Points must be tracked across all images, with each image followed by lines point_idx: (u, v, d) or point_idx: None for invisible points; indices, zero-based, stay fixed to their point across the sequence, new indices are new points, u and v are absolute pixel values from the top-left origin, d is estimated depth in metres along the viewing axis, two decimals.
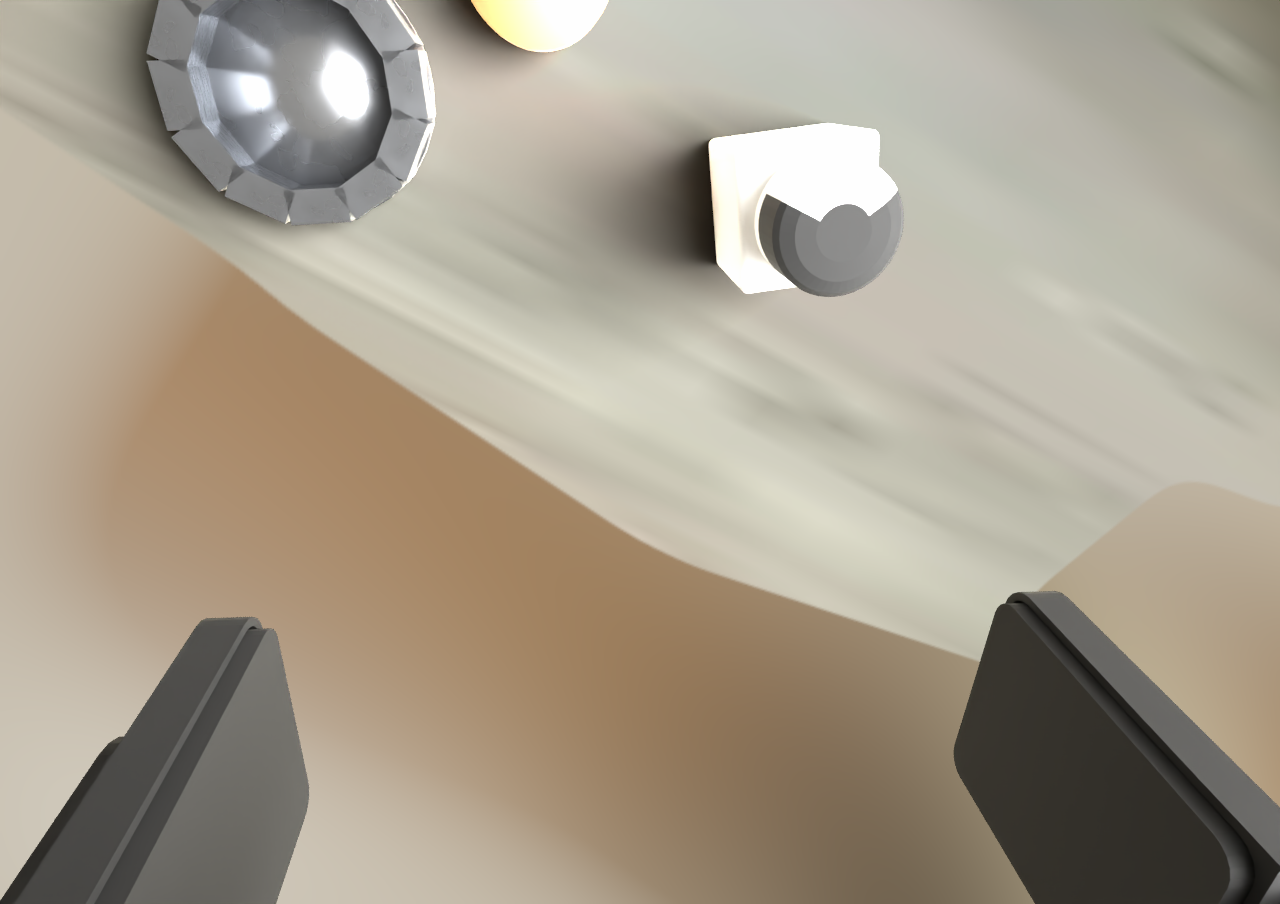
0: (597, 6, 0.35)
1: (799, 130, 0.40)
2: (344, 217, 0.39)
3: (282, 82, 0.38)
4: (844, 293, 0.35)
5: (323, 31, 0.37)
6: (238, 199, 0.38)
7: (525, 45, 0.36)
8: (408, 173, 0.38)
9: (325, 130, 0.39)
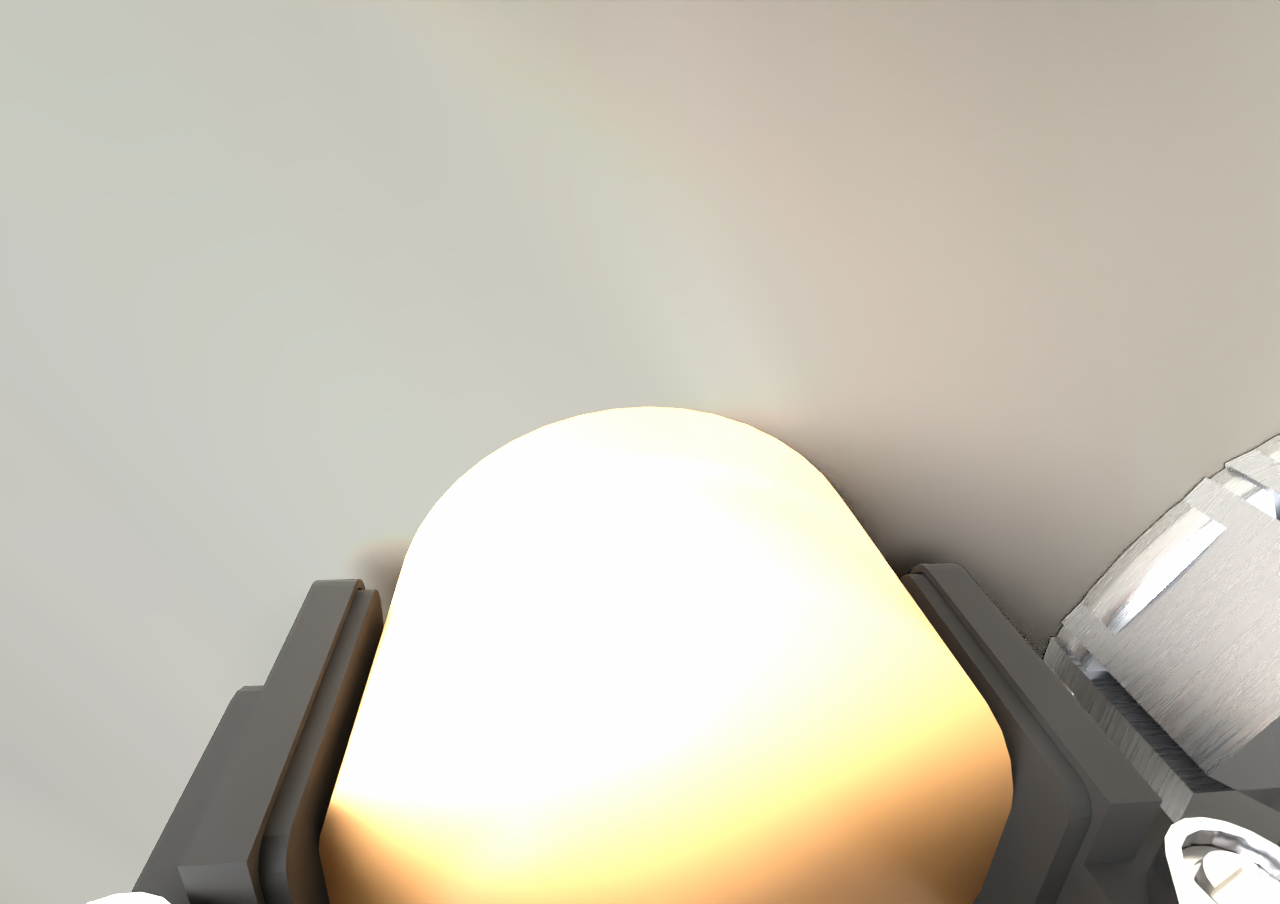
0: (543, 655, 0.06)
1: None
2: None
3: None
4: None
5: None
6: None
7: (961, 681, 0.07)
8: None
9: None
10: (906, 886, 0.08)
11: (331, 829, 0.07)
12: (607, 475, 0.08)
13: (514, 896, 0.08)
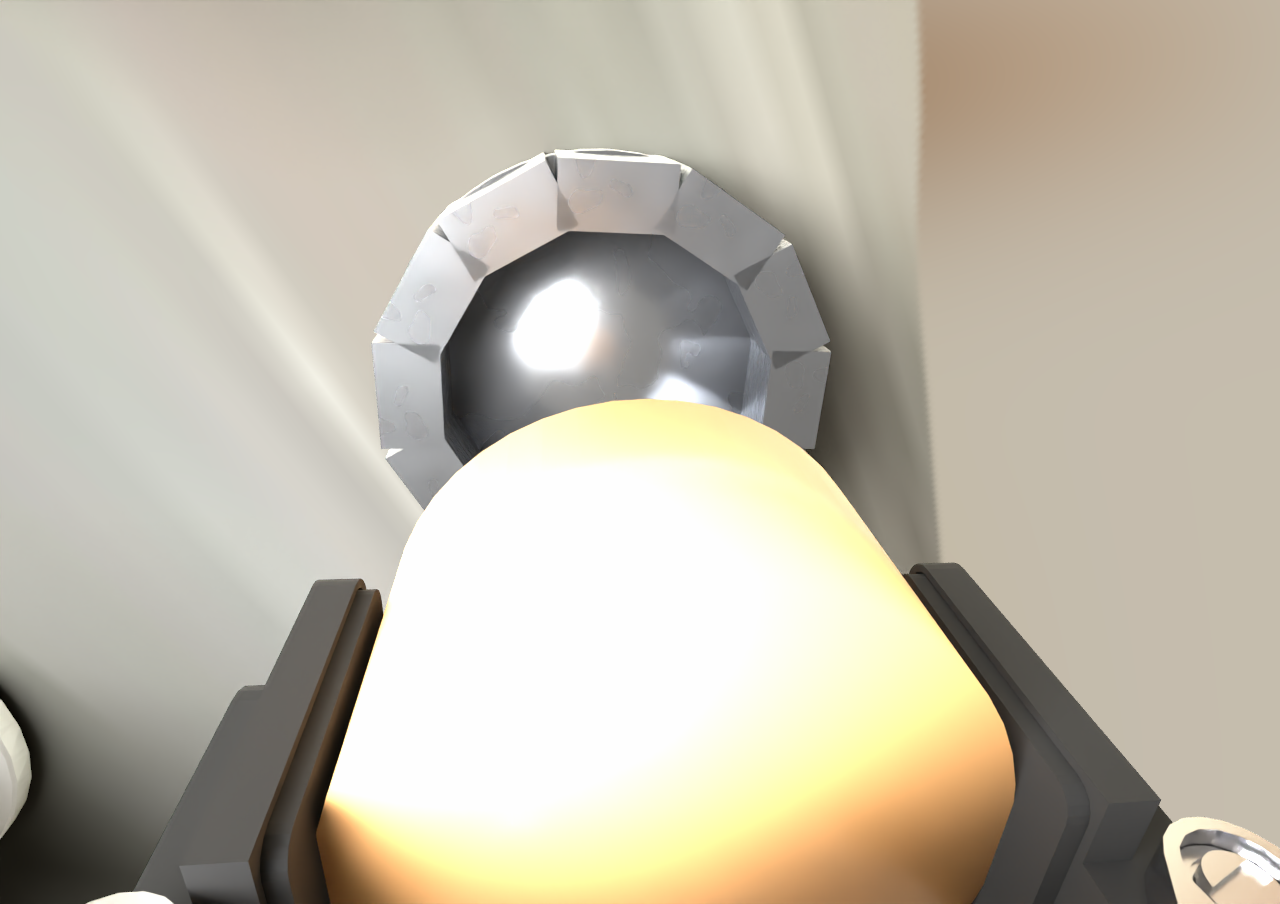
0: (540, 647, 0.06)
1: None
2: (696, 183, 0.19)
3: None
4: None
5: (518, 418, 0.23)
6: (817, 324, 0.21)
7: (963, 674, 0.07)
8: (530, 170, 0.18)
9: (621, 310, 0.22)
10: (908, 880, 0.08)
11: (328, 824, 0.07)
12: (605, 468, 0.08)
13: (512, 891, 0.07)
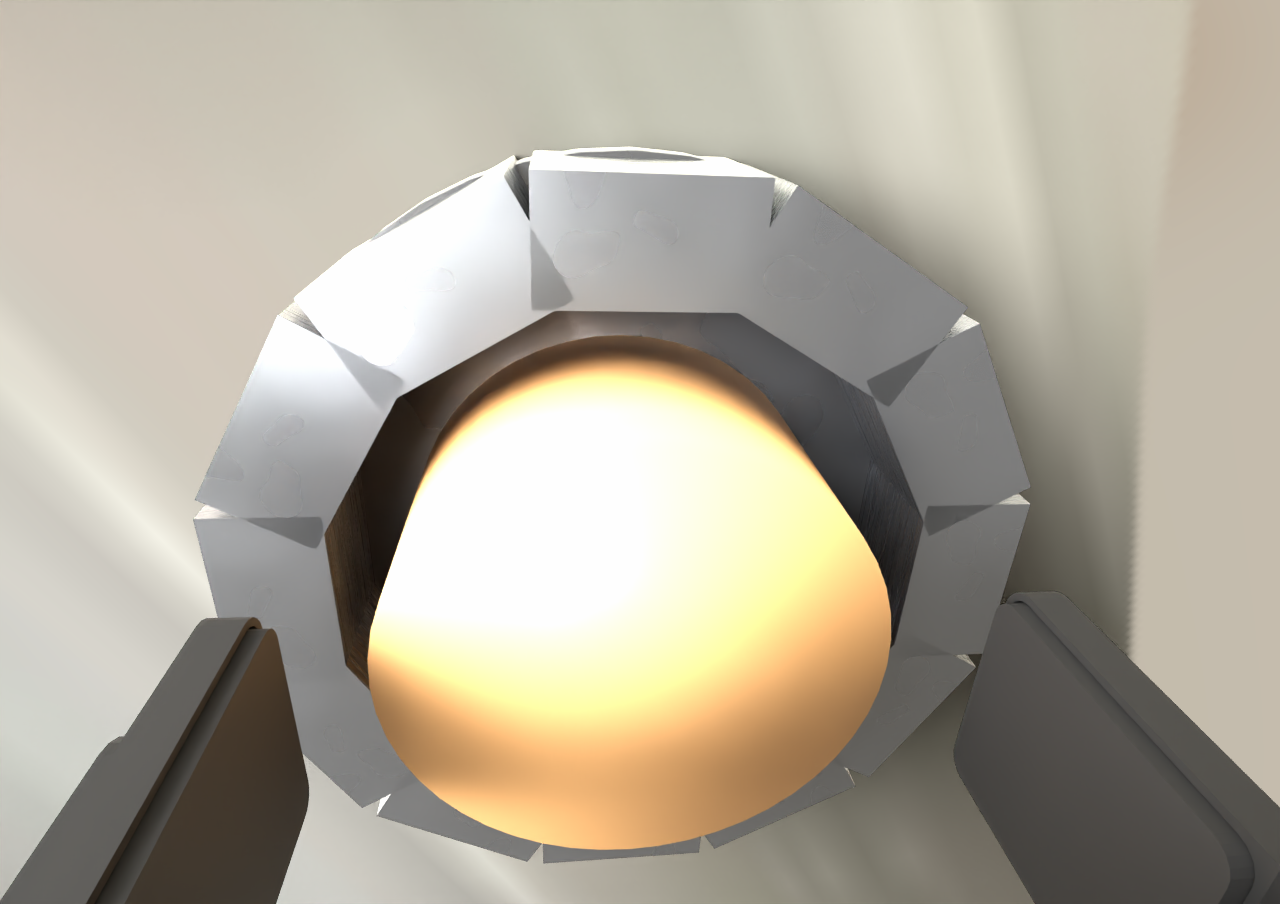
0: (533, 487, 0.09)
1: None
2: (805, 214, 0.09)
3: None
4: None
5: None
6: (1011, 460, 0.11)
7: (842, 518, 0.09)
8: (474, 196, 0.09)
9: None
10: (814, 694, 0.11)
11: (379, 624, 0.09)
12: (585, 378, 0.10)
13: (512, 689, 0.10)
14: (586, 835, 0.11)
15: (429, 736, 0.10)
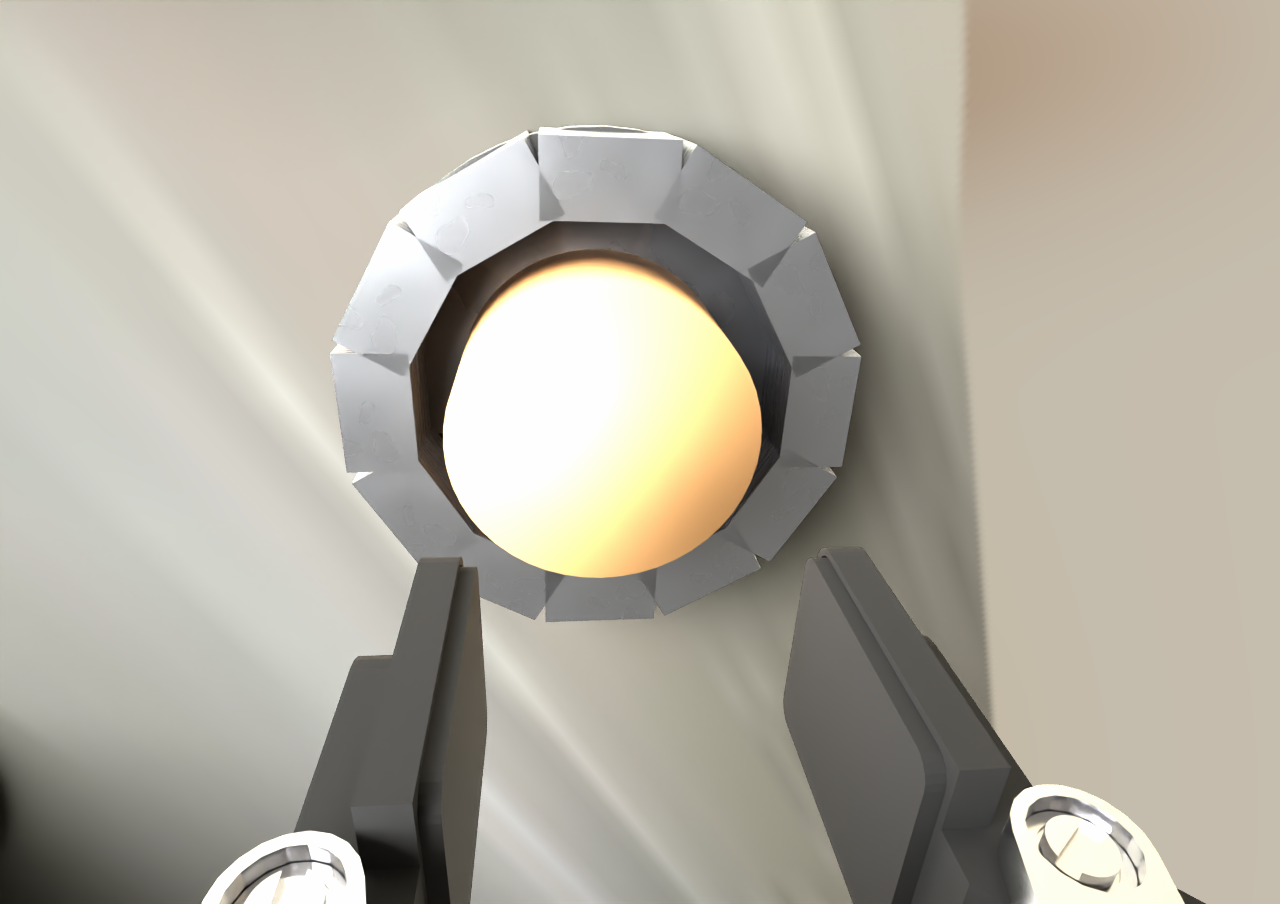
0: (544, 316, 0.15)
1: None
2: (702, 162, 0.16)
3: None
4: None
5: None
6: (845, 325, 0.18)
7: (726, 342, 0.16)
8: (506, 150, 0.15)
9: None
10: (717, 465, 0.17)
11: (451, 404, 0.16)
12: (574, 267, 0.17)
13: (530, 452, 0.16)
14: (574, 565, 0.18)
15: (478, 485, 0.17)
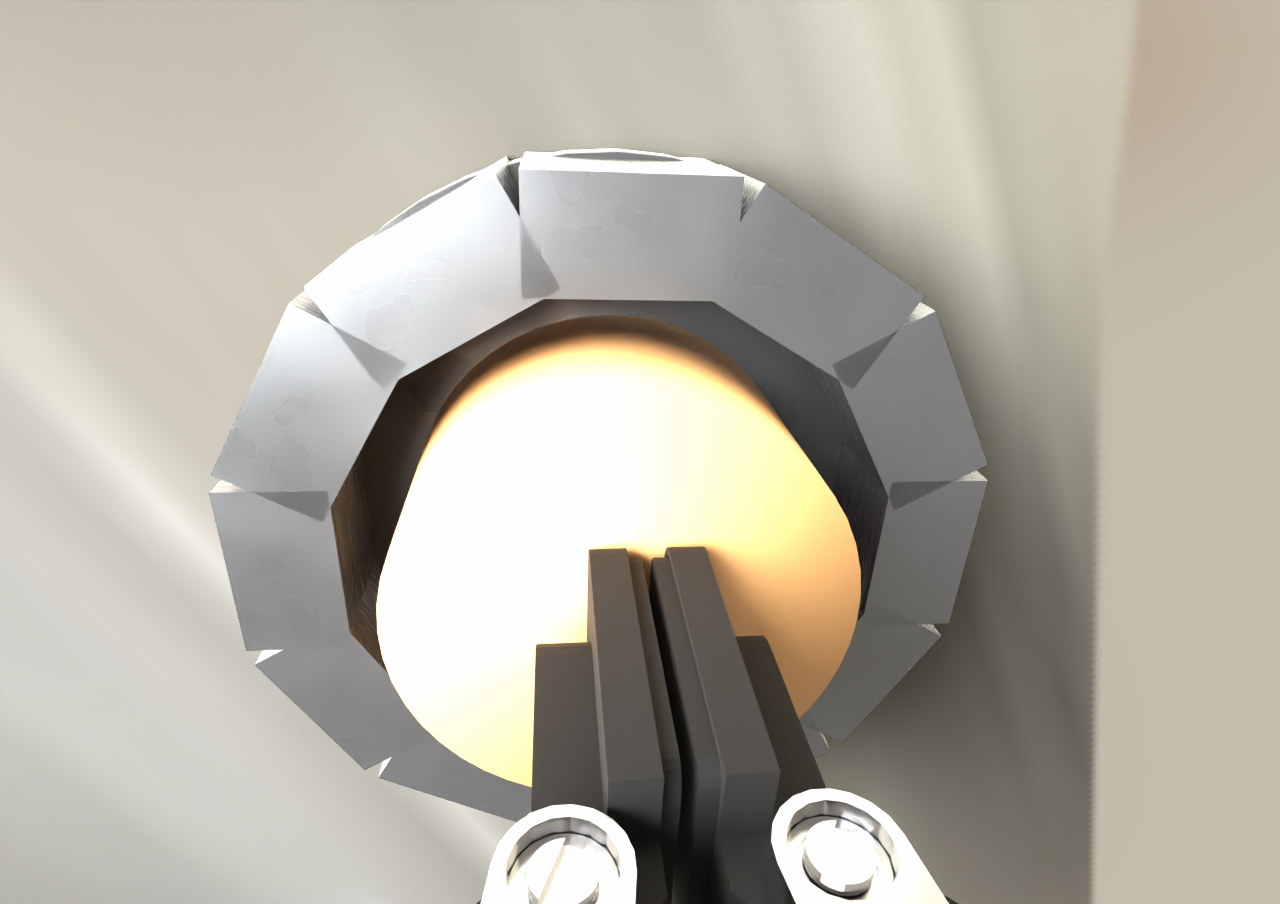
0: (534, 444, 0.10)
1: None
2: (772, 210, 0.10)
3: None
4: None
5: None
6: (968, 438, 0.12)
7: (816, 479, 0.10)
8: (469, 193, 0.10)
9: None
10: (790, 647, 0.11)
11: (388, 572, 0.10)
12: (581, 350, 0.11)
13: (511, 636, 0.11)
14: None
15: (432, 680, 0.11)
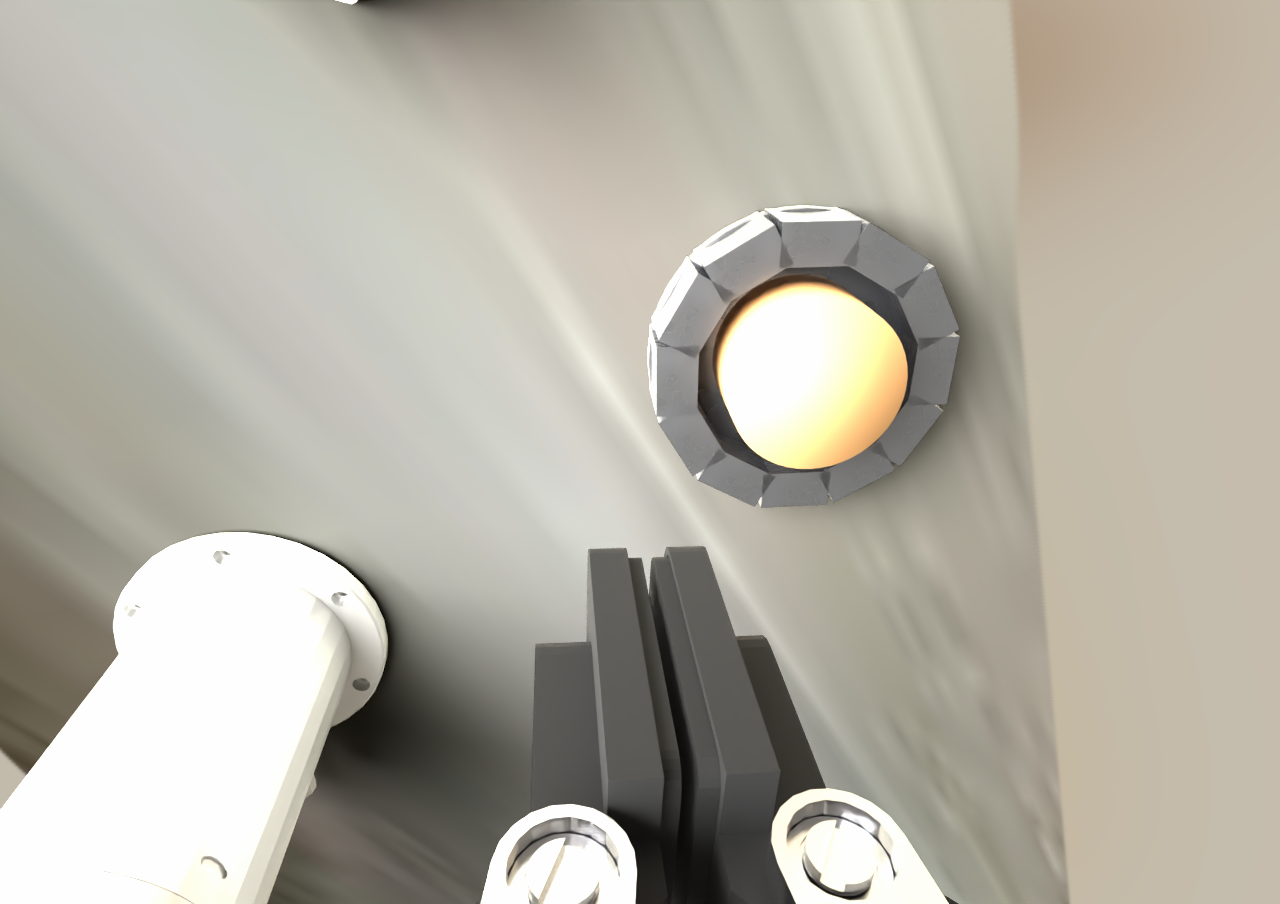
0: (792, 317, 0.28)
1: None
2: (871, 231, 0.28)
3: None
4: None
5: None
6: (950, 318, 0.30)
7: (890, 328, 0.28)
8: (764, 231, 0.28)
9: None
10: (880, 399, 0.30)
11: (737, 367, 0.28)
12: (796, 287, 0.29)
13: (776, 394, 0.29)
14: (794, 461, 0.30)
15: (746, 413, 0.29)
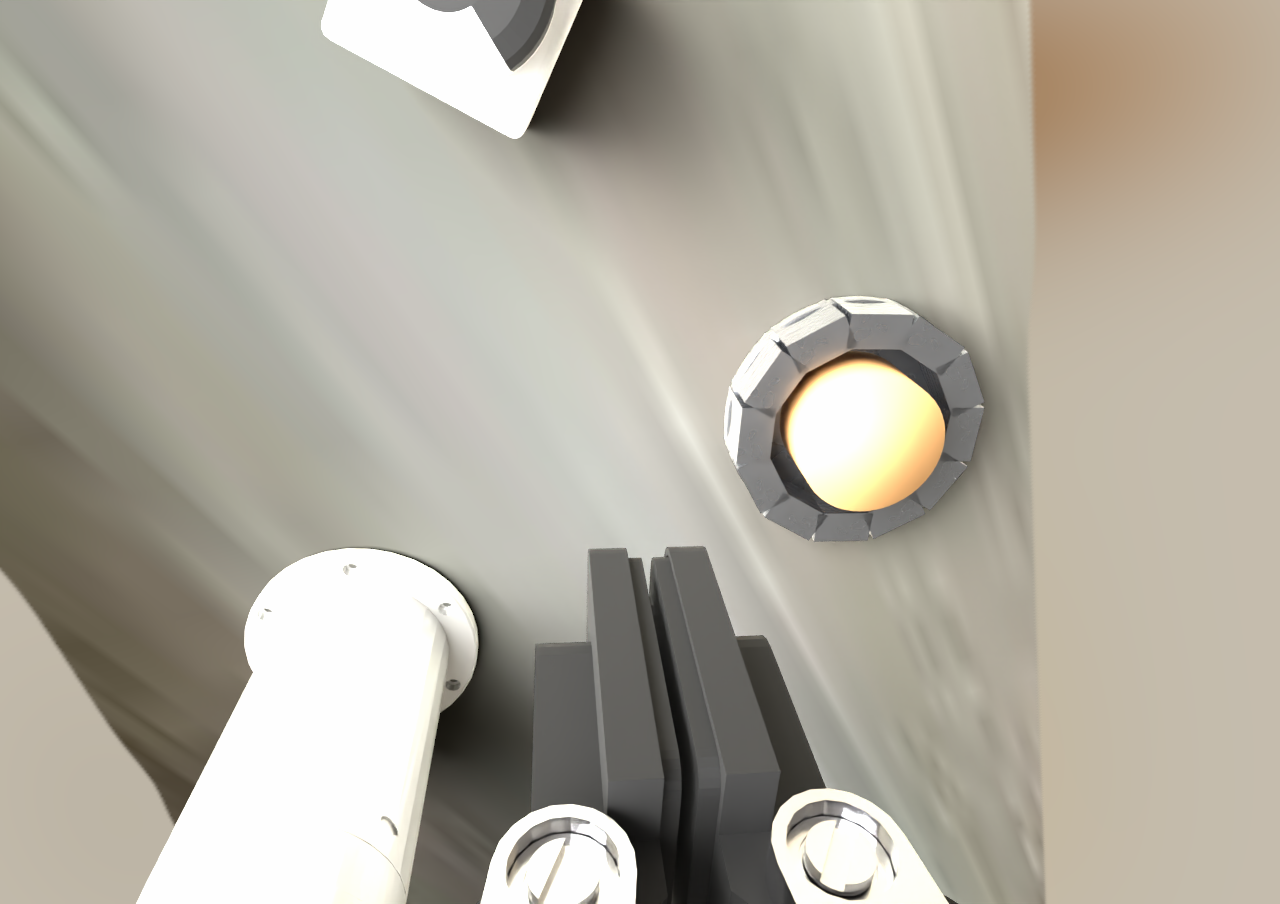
0: (858, 390, 0.34)
1: None
2: (920, 323, 0.35)
3: None
4: None
5: None
6: (978, 393, 0.37)
7: (934, 401, 0.35)
8: (837, 320, 0.35)
9: None
10: (921, 457, 0.36)
11: (811, 428, 0.35)
12: (857, 364, 0.36)
13: (839, 450, 0.36)
14: (849, 504, 0.37)
15: (814, 465, 0.36)
